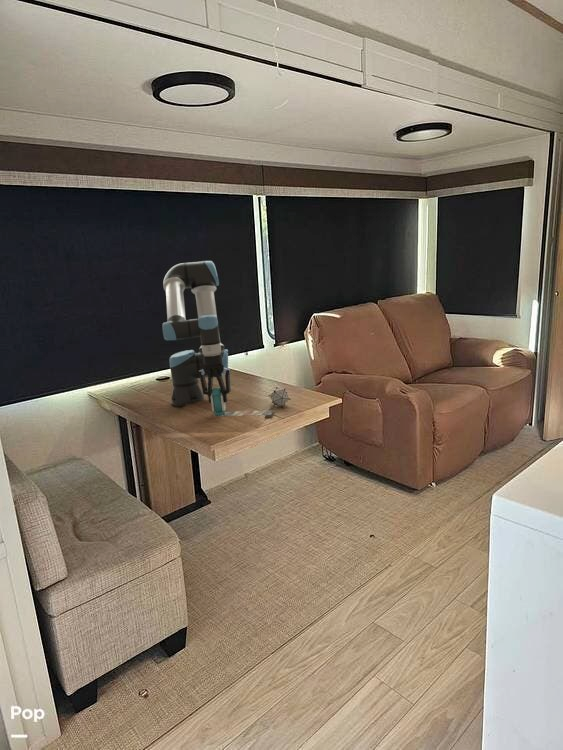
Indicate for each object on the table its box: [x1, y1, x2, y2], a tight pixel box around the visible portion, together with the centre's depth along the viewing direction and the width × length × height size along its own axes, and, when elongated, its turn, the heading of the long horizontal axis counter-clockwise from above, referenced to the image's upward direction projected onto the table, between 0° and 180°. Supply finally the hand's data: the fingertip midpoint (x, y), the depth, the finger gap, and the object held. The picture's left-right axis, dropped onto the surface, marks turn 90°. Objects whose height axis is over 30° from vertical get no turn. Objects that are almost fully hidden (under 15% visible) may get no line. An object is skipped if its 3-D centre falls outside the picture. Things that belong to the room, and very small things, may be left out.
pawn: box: [212, 386, 226, 417], centre depth 204 cm, size 4×4×12 cm
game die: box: [267, 386, 291, 409], centre depth 211 cm, size 9×8×10 cm
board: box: [213, 409, 275, 419], centre depth 203 cm, size 24×6×1 cm, turn 81°
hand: (219, 409), depth 205 cm, fingers closed on pawn, 3 cm apart
